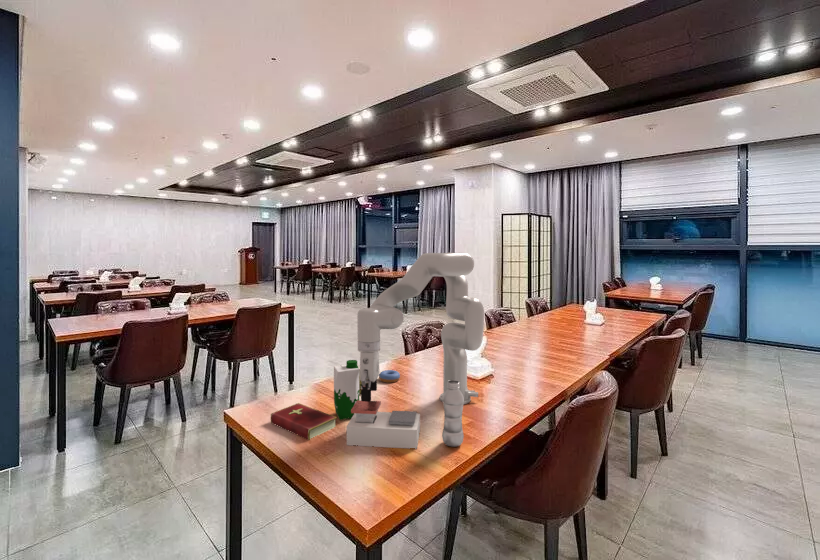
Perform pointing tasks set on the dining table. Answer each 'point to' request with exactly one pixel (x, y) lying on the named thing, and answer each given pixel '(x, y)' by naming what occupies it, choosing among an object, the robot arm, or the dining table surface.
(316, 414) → the hardcover book
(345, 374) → the milk carton
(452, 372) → the robot arm
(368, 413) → the red square push button
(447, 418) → the plastic bottle
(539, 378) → the dining table surface
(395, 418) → the grey square push button
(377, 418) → the white button box
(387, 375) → the doughnut
